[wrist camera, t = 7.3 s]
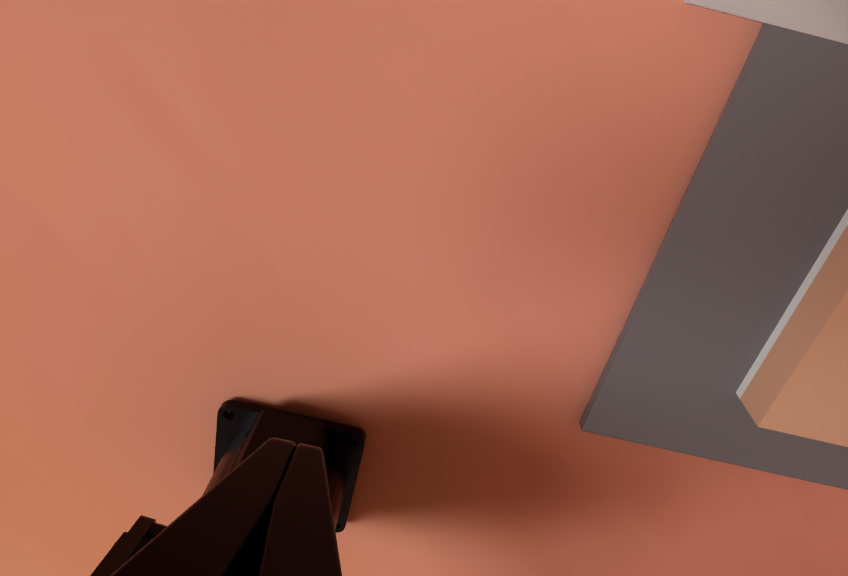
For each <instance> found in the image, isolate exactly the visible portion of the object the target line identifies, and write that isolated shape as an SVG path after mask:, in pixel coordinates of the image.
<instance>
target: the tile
mask: <svg viewBox="0 0 848 576" xmlns="http://www.w3.org/2000/svg"><path fill="white" fill-rule="evenodd" d="M736 394H737V395H738V397H739V399H740V400H741V402H742V403H743V405H744V406H745V408H746V409H747V411H748V412H749V414H750V416H751V417H752V419H753V420H754V422H755V423H756V425H757V426H758V427H761V428H765V429H770V430H774V431H779V432H783V433H788V434H792V435H796V436H801V437H805V438H810V439H814V440H819V441H823V442H827V443H832V444H836V445H841V446H845V447H848V209H847V211H846V213H845V214H844V216H843V217H842V219H841V221H840V222H839V224H838V226H837V227H836V229H835V231H834V232H833V234H832V236H831V237H830V239H829V240H828V242H827V244H826V245H825V247H824V249H823V250H822V252H821V254H820V255H819V257H818V258H817V260H816V262H815V263H814V265H813V267H812V268H811V270H810V272H809V273H808V275H807V277H806V278H805V280H804V281H803V283H802V285H801V286H800V288H799V290H798V291H797V293H796V295H795V296H794V298H793V299H792V301H791V303H790V304H789V306H788V308H787V309H786V311H785V313H784V314H783V316H782V318H781V319H780V321H779V322H778V324H777V326H776V327H775V329H774V331H773V332H772V334H771V336H770V337H769V339H768V340H767V342H766V344H765V345H764V347H763V349H762V350H761V352H760V354H759V355H758V357H757V358H756V360H755V362H754V363H753V365H752V367H751V368H750V370H749V372H748V373H747V375H746V377H745V378H744V380H743V381H742V383H741V385H740V386H739V388H738V390H737V391H736Z"/></svg>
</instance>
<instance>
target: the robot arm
mask: <svg viewBox="0 0 848 576" xmlns="http://www.w3.org/2000/svg"><path fill="white" fill-rule="evenodd" d="M228 411H232V412H233V413H234V414H232V413H230V412H228ZM351 438H356V439H358V440H353V439H351ZM365 440H366V434H365V432H364V431H363V430H362V429H360V428H357V427H353V426H348V425H344V424H339V423H334V422H330V421H325V420H321V419H316V418H311V417H307V416H302V415H298V414H293V413H289V412H284V411H279V410H275V409H270V408H266V407H261V406H256V405H252V404H247V403H243V402H238V401H234V400H228V401H225V402H224V403H222V405H221V407H220V408H219V411H218V416H217V431H216V445H215V459H214V473H213V476H212V478H211V480H210V482H209V484H208V486H207V488H206V490H205V492H204V494H203V496H202V497H201V498H200V499H199V500H197V501H196V502H195V503H194V504H193V505H192V506H190V507H189V508H188V509H187V510H186V511H185V512H183V513H182V514H181V515H180V516H179V517H178V518H177V519H175V520H174V521H173V522H172V523H171V524H170V525H168V526H165V525H162V524H159V523H155V522H156V520H155V519H152V518H148V517H145V516H142V515H141V516H140V517H139V519H138V520H137V521H136V523H135V524H134V525H133V526H132V528H131V529H130V530H129V532H124V533H123V534H122V535H121V537H120V538H119V539H118V541H117V542H115V544H114V546H113V547H112V548H111V550H110V551H109V552H108V554H107V555H106V556H105V557H104V559H103V560H102V561H101V563H100V564H99V565H98V566H97V568H96V569H95V570H94V572H93V573H92V574H91V576H342V573H341V566H340V559H339V553H338V546H337V540H336V533H335V532H341V531H343V530H344V528H345V525H346V521H347V517H348V513H349V508H350V504H351V500H352V495H353V491H354V487H355V483H356V478H357V474H358V470H359V466H360V461H361V457H362V453H363V449H364V444H365Z"/></svg>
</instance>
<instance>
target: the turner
mask: <svg viewBox="0 0 848 576" xmlns="http://www.w3.org/2000/svg"><path fill="white" fill-rule="evenodd" d="M684 3H687V4H691V5H695V6H699V7H703V8H706V9H710V10H714V11H718V12H722V13H726V14H730V15H734V16H737V17H741V18H745V19H749V20H753V21H757V22H761V23H765V24H771V25H775V26H779V27H783V28H787V29H791V30H795V31H799V32H802V33H806V34H810V35H814V36H818V37H822V38H826V39H829V40H833V41H837V42H841V43H845V44H848V0H684Z"/></svg>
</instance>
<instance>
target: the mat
mask: <svg viewBox="0 0 848 576" xmlns="http://www.w3.org/2000/svg"><path fill="white" fill-rule="evenodd" d="M847 209H848V44H845V43H841V42H837V41H833V40H829V39H826V38H822V37H818V36H814V35H810V34H806V33H802V32H799V31H795V30H791V29H787V28H783V27H779V26H775V25H771V24H765V23H764V24H763V26H762V28H761V30H760V32H759V35H758V37H757V39H756V41H755V43H754V45H753V48H752V50H751V52H750V54H749V56H748V58H747V61H746V63H745V65H744V67H743V69H742V71H741V74H740V76H739V78H738V80H737V82H736V84H735V87H734V89H733V91H732V93H731V95H730V97H729V100H728V102H727V104H726V106H725V108H724V110H723V113H722V115H721V117H720V119H719V121H718V123H717V126H716V128H715V130H714V132H713V134H712V136H711V139H710V141H709V143H708V145H707V147H706V150H705V152H704V154H703V156H702V158H701V160H700V163H699V165H698V167H697V169H696V171H695V173H694V176H693V178H692V180H691V182H690V184H689V186H688V189H687V191H686V193H685V195H684V197H683V199H682V202H681V204H680V206H679V208H678V210H677V212H676V215H675V217H674V219H673V221H672V223H671V225H670V228H669V230H668V232H667V234H666V236H665V238H664V241H663V243H662V245H661V247H660V249H659V251H658V254H657V256H656V258H655V260H654V262H653V264H652V267H651V269H650V271H649V273H648V275H647V277H646V280H645V282H644V284H643V286H642V288H641V290H640V293H639V295H638V297H637V299H636V301H635V303H634V306H633V308H632V310H631V312H630V314H629V316H628V319H627V321H626V323H625V325H624V327H623V330H622V332H621V334H620V336H619V338H618V340H617V343H616V345H615V347H614V349H613V351H612V353H611V356H610V358H609V360H608V362H607V364H606V366H605V369H604V371H603V373H602V375H601V377H600V379H599V382H598V384H597V386H596V388H595V390H594V392H593V395H592V397H591V399H590V401H589V403H588V405H587V408H586V410H585V412H584V414H583V416H582V418H581V421H580V426H581V430H582V431H586V432H590V433H595V434H599V435H604V436H608V437H613V438H617V439H622V440H626V441H631V442H635V443H640V444H644V445H649V446H653V447H658V448H662V449H667V450H671V451H676V452H680V453H685V454H689V455H694V456H698V457H703V458H707V459H712V460H716V461H721V462H725V463H730V464H734V465H739V466H743V467H748V468H752V469H757V470H761V471H766V472H770V473H775V474H779V475H784V476H788V477H793V478H797V479H802V480H806V481H811V482H816V483H820V484H825V485H829V486H834V487H838V488H843V489H847V490H848V447H845V446H841V445H836V444H832V443H827V442H823V441H819V440H814V439H810V438H805V437H801V436H796V435H792V434H788V433H783V432H779V431H774V430H770V429H765V428H761V427H758V426H757V425H756V423H755V422H754V420H753V419H752V417H751V416H750V414H749V412H748V411H747V409H746V408H745V406H744V405H743V403H742V402H741V400H740V399H739V397H738V395H737V394H736V391H737V390H738V388H739V386H740V385H741V383H742V381H743V380H744V378H745V377H746V375H747V373H748V372H749V370H750V368H751V367H752V365H753V363H754V362H755V360H756V358H757V357H758V355H759V354H760V352H761V350H762V349H763V347H764V345H765V344H766V342H767V340H768V339H769V337H770V336H771V334H772V332H773V331H774V329H775V327H776V326H777V324H778V322H779V321H780V319H781V318H782V316H783V314H784V313H785V311H786V309H787V308H788V306H789V304H790V303H791V301H792V299H793V298H794V296H795V295H796V293H797V291H798V290H799V288H800V286H801V285H802V283H803V281H804V280H805V278H806V277H807V275H808V273H809V272H810V270H811V268H812V267H813V265H814V263H815V262H816V260H817V258H818V257H819V255H820V254H821V252H822V250H823V249H824V247H825V245H826V244H827V242H828V240H829V239H830V237H831V236H832V234H833V232H834V231H835V229H836V227H837V226H838V224H839V222H840V221H841V219H842V217H843V216H844V214H845V213H846V211H847Z"/></svg>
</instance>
